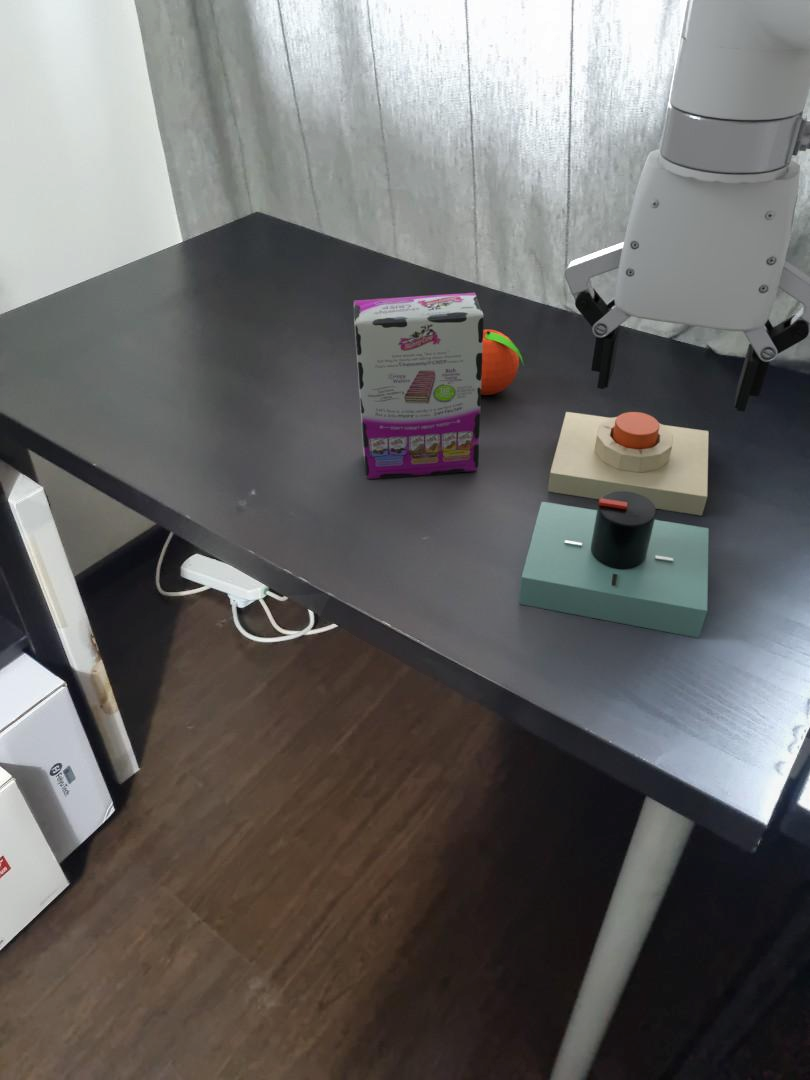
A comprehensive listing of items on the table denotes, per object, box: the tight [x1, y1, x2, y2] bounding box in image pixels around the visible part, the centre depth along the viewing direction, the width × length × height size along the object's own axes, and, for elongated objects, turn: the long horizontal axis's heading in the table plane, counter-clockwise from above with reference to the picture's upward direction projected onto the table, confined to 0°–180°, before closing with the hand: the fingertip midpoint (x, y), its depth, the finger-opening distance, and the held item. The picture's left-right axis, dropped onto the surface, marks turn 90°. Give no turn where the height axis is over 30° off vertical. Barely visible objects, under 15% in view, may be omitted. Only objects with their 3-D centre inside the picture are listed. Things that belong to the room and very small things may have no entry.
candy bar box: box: [353, 292, 485, 480], centre depth 76 cm, size 11×5×16 cm, turn 95°
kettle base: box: [547, 411, 710, 517], centre depth 79 cm, size 14×11×4 cm
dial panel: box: [518, 501, 710, 639], centre depth 68 cm, size 14×10×3 cm
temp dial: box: [591, 491, 657, 569], centre depth 65 cm, size 4×4×5 cm
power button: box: [613, 411, 660, 450], centre depth 77 cm, size 4×4×2 cm
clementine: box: [481, 329, 525, 396], centre depth 89 cm, size 8×7×7 cm
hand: (671, 390), depth 60 cm, fingers open, 9 cm apart
